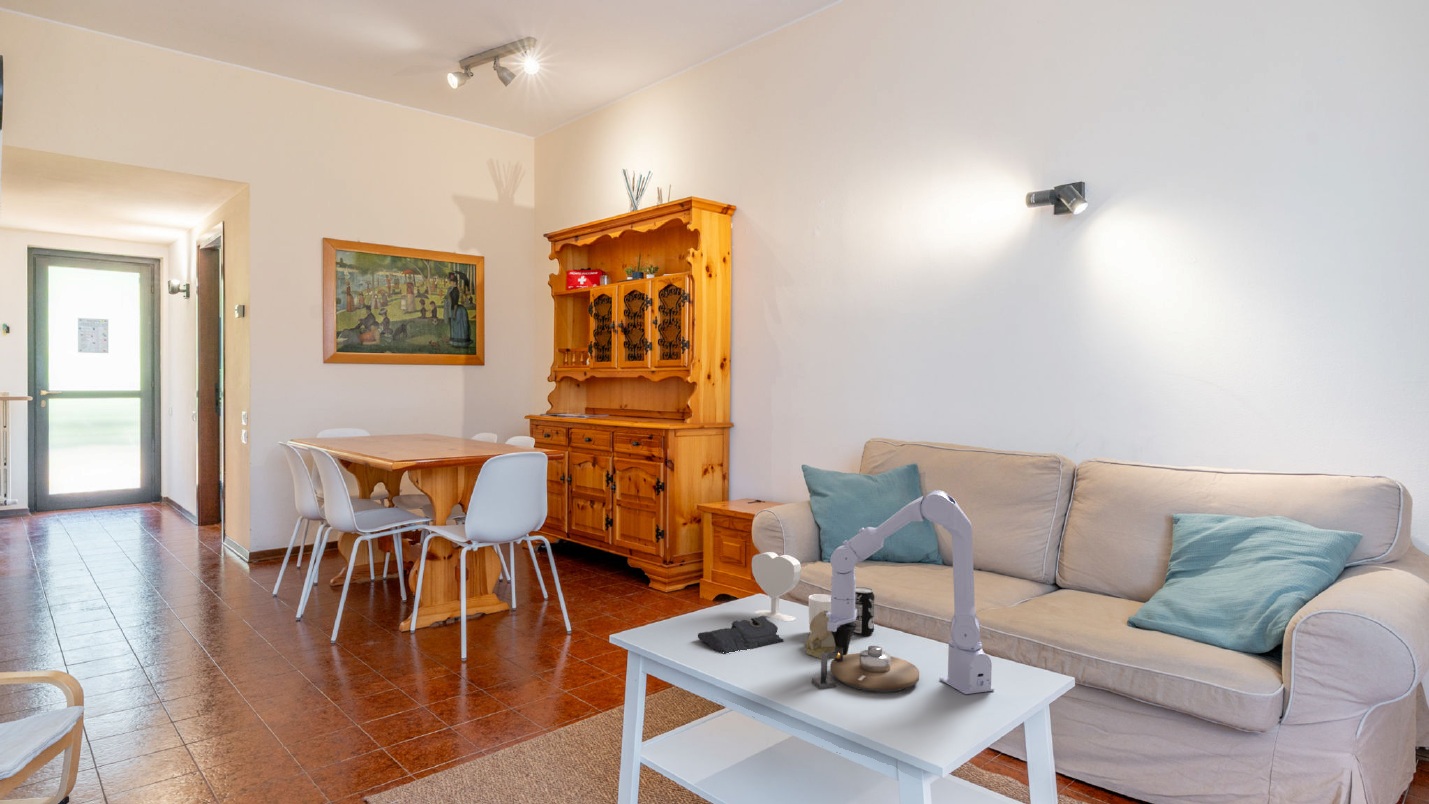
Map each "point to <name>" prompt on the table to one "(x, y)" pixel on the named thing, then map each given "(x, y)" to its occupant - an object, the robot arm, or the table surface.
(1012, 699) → the table surface
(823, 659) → the grey bent lever
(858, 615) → the beverage can
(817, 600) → the white cup
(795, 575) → the heart sculpture
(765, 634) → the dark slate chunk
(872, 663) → the cover
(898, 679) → the turntable
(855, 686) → the turntable base
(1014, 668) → the table surface
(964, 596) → the robot arm
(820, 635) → the ceramic model
